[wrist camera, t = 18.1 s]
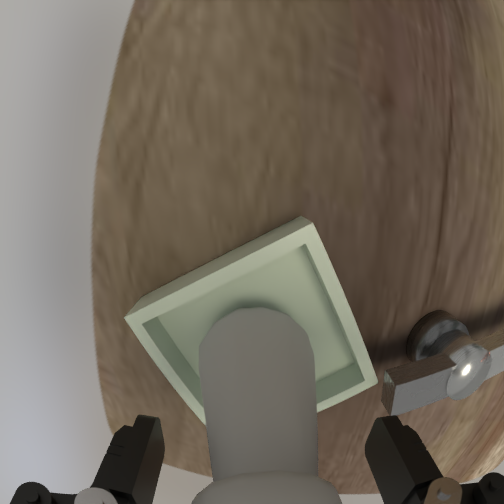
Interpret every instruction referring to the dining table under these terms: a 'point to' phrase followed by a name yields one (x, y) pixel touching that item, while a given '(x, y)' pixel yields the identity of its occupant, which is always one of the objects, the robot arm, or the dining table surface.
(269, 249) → the tray
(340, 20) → the dining table surface
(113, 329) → the dining table surface
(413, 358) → the crank base
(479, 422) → the dining table surface
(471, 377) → the crank
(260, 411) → the salt shaker
